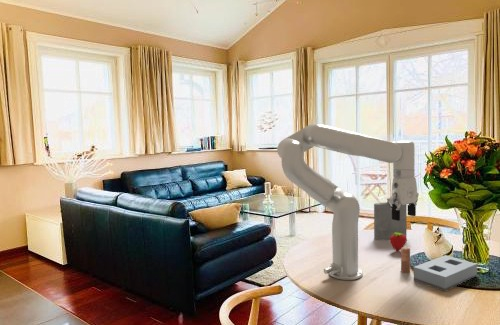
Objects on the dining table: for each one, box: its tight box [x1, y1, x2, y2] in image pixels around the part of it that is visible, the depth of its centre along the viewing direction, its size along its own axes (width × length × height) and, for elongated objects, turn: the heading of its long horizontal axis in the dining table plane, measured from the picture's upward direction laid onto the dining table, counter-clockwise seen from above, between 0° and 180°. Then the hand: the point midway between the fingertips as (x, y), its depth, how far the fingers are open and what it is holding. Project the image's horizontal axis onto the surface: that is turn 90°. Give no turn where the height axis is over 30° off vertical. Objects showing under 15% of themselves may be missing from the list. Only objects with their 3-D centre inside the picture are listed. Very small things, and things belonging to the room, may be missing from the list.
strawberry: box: [389, 232, 408, 252], centre depth 173 cm, size 6×8×10 cm
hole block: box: [413, 254, 478, 292], centre depth 143 cm, size 20×12×5 cm, turn 123°
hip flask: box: [373, 197, 408, 241], centre depth 192 cm, size 16×4×20 cm, turn 93°
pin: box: [400, 246, 411, 274], centre depth 151 cm, size 3×3×9 cm
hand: (403, 217), depth 151 cm, fingers open, 9 cm apart
